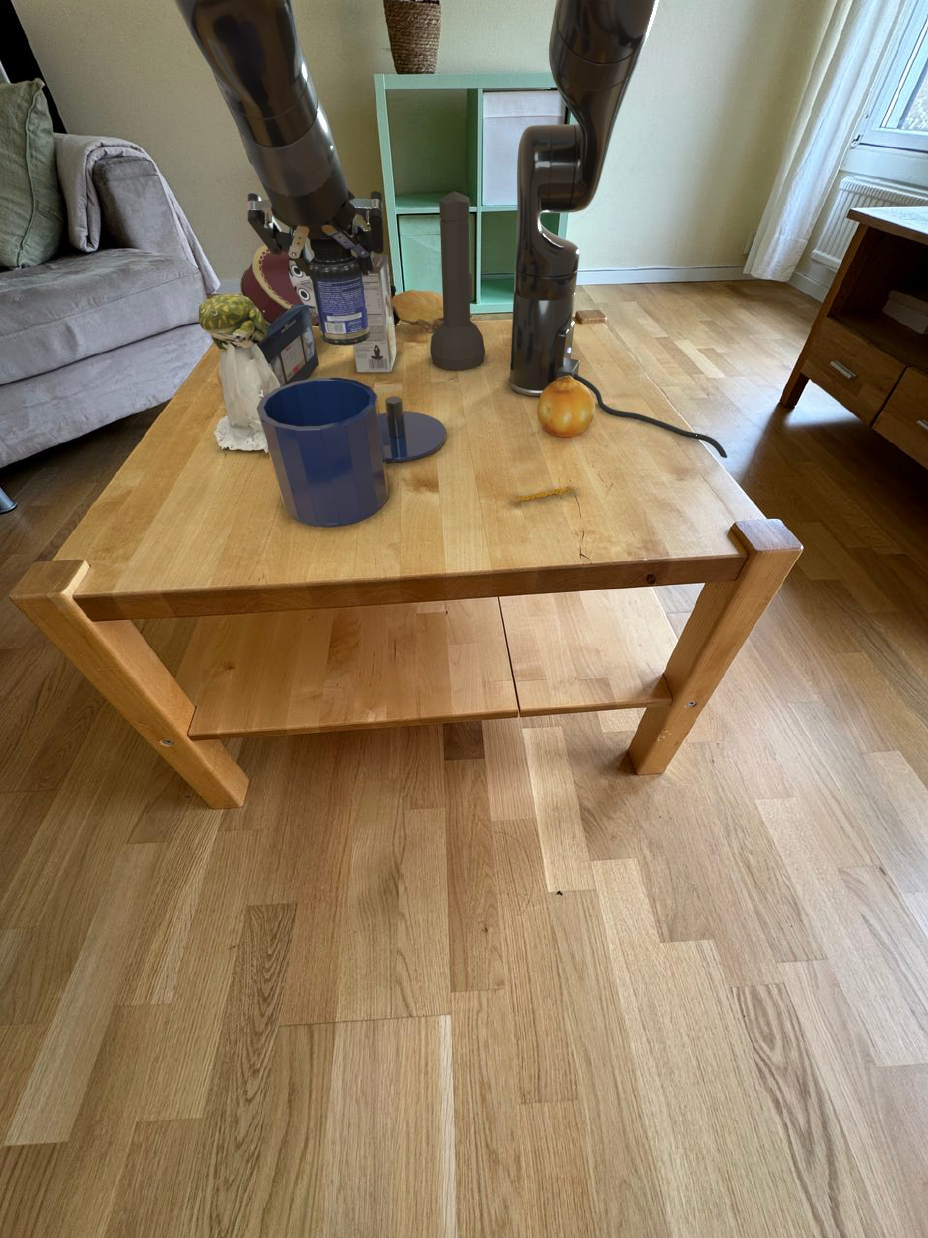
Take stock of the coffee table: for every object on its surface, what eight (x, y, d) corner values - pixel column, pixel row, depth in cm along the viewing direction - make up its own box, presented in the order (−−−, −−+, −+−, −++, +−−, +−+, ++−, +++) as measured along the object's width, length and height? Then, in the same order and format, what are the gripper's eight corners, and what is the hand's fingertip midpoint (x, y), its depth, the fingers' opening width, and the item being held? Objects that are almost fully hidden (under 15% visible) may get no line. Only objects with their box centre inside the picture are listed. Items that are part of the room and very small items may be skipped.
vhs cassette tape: (277, 410, 90) (260, 344, 83) (259, 408, 91) (241, 342, 84) (322, 364, 103) (311, 304, 96) (307, 363, 103) (294, 303, 96)
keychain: (574, 490, 72) (571, 494, 73) (571, 483, 72) (568, 487, 73) (516, 502, 70) (515, 506, 71) (514, 495, 70) (512, 499, 71)
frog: (199, 436, 84) (148, 300, 71) (270, 405, 91) (236, 276, 78) (247, 462, 79) (201, 320, 66) (319, 427, 86) (291, 292, 72)
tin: (405, 479, 75) (396, 386, 67) (357, 536, 67) (339, 438, 58) (319, 462, 79) (299, 371, 70) (263, 514, 70) (232, 418, 61)
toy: (428, 315, 108) (282, 284, 88) (390, 351, 117) (251, 331, 97) (407, 245, 108) (257, 198, 88) (372, 287, 117) (229, 253, 97)
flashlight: (436, 373, 100) (491, 367, 101) (427, 198, 82) (494, 194, 83) (426, 353, 107) (477, 347, 108) (416, 187, 89) (477, 183, 90)
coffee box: (363, 353, 107) (350, 254, 95) (397, 353, 107) (388, 253, 95) (356, 373, 100) (341, 269, 89) (392, 373, 100) (381, 269, 89)
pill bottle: (380, 337, 71) (369, 232, 63) (341, 351, 68) (325, 242, 60) (349, 326, 74) (334, 225, 66) (311, 339, 71) (291, 234, 63)
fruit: (517, 416, 83) (549, 373, 77) (544, 400, 88) (575, 359, 82) (556, 457, 83) (591, 417, 77) (580, 438, 88) (615, 400, 82)
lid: (460, 426, 86) (459, 386, 82) (422, 473, 77) (419, 430, 72) (376, 412, 90) (371, 373, 85) (330, 455, 80) (322, 413, 76)
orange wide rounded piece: (480, 332, 117) (455, 302, 120) (485, 313, 114) (460, 282, 117) (407, 344, 110) (383, 312, 113) (411, 324, 106) (386, 291, 109)
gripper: (373, 107, 50) (398, 235, 67) (212, 110, 51) (277, 237, 67) (373, 192, 50) (398, 299, 67) (212, 194, 51) (277, 300, 67)
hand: (337, 267), depth 67 cm, fingers closed on pill bottle, 6 cm apart
